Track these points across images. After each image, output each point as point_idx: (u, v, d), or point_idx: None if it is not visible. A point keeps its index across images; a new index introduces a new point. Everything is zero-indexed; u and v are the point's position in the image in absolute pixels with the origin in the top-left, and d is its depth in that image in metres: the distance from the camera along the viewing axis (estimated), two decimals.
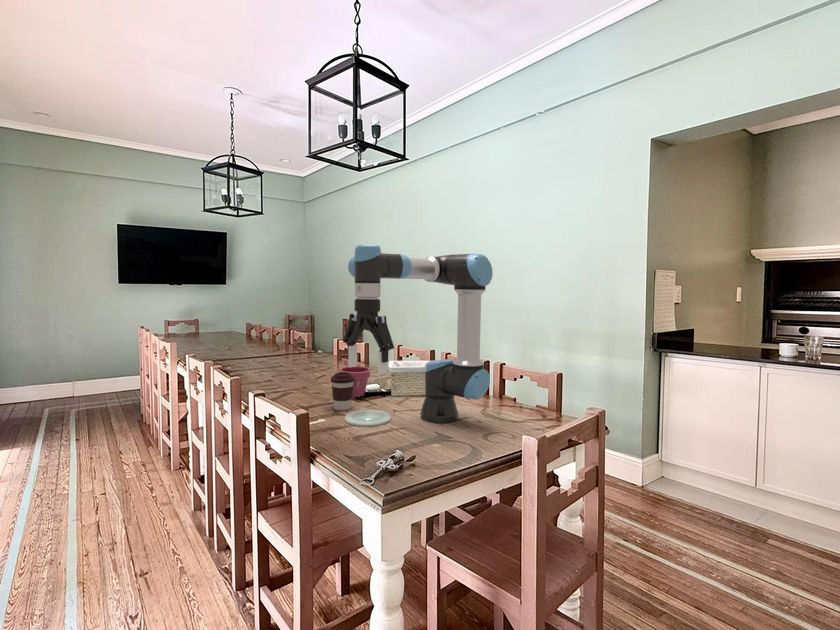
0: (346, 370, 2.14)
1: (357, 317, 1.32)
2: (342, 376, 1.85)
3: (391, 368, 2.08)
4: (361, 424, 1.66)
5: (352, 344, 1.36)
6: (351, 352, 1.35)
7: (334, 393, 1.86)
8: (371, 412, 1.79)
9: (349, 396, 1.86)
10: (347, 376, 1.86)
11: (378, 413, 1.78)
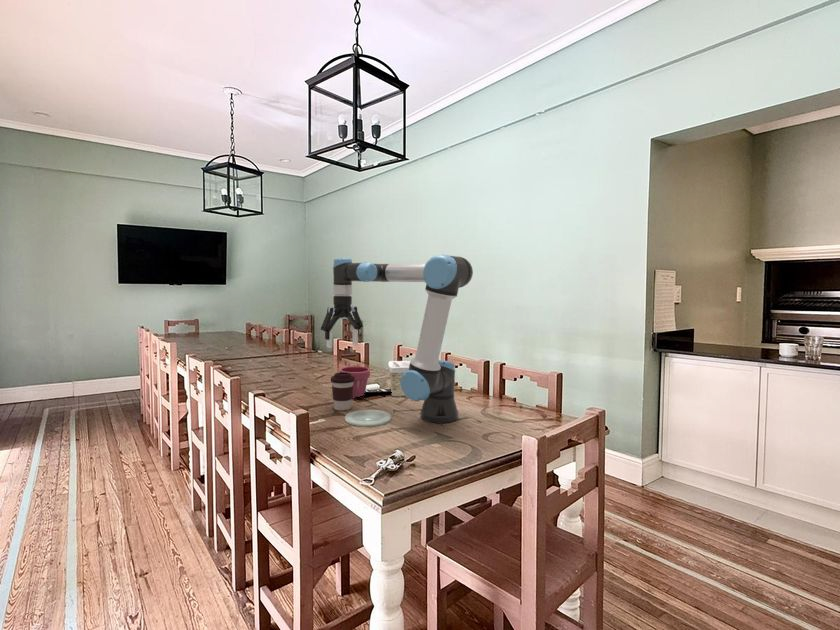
0: (346, 370, 2.14)
1: None
2: (342, 376, 1.85)
3: (392, 368, 2.08)
4: (361, 424, 1.66)
5: (356, 328, 1.91)
6: (353, 333, 1.92)
7: (334, 393, 1.86)
8: (371, 412, 1.79)
9: (349, 396, 1.86)
10: (347, 376, 1.86)
11: (378, 413, 1.78)
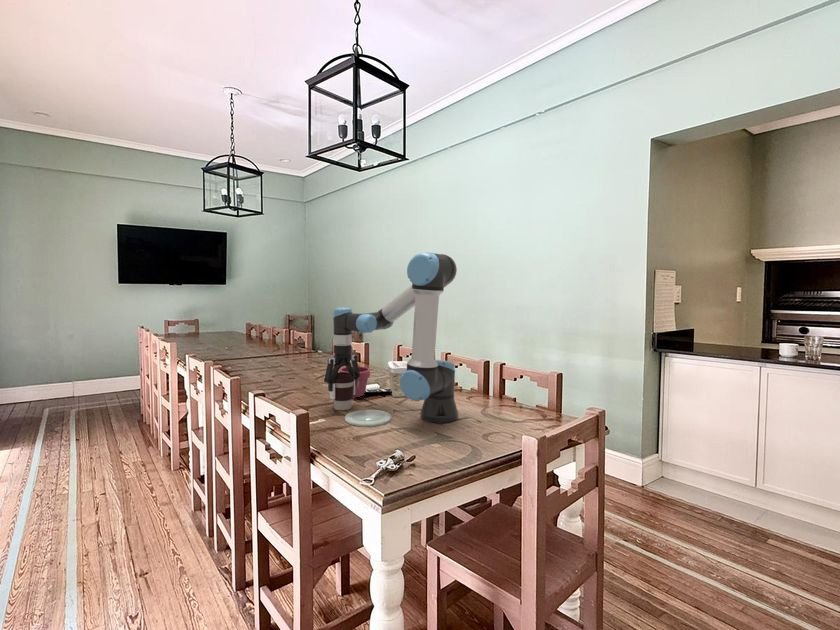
0: (346, 370, 2.14)
1: None
2: (342, 376, 1.85)
3: (393, 369, 2.07)
4: (361, 424, 1.66)
5: None
6: None
7: None
8: (371, 412, 1.79)
9: (349, 396, 1.86)
10: (347, 376, 1.86)
11: (378, 413, 1.78)
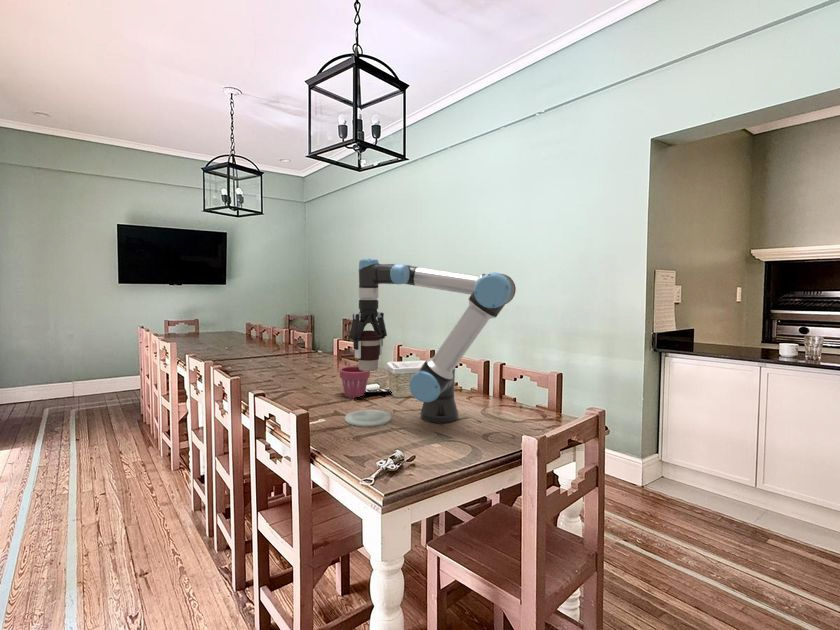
0: (346, 370, 2.14)
1: None
2: (368, 333, 1.69)
3: (395, 369, 2.05)
4: (361, 424, 1.66)
5: None
6: None
7: None
8: (371, 412, 1.79)
9: (376, 355, 1.70)
10: (374, 333, 1.70)
11: (378, 413, 1.78)
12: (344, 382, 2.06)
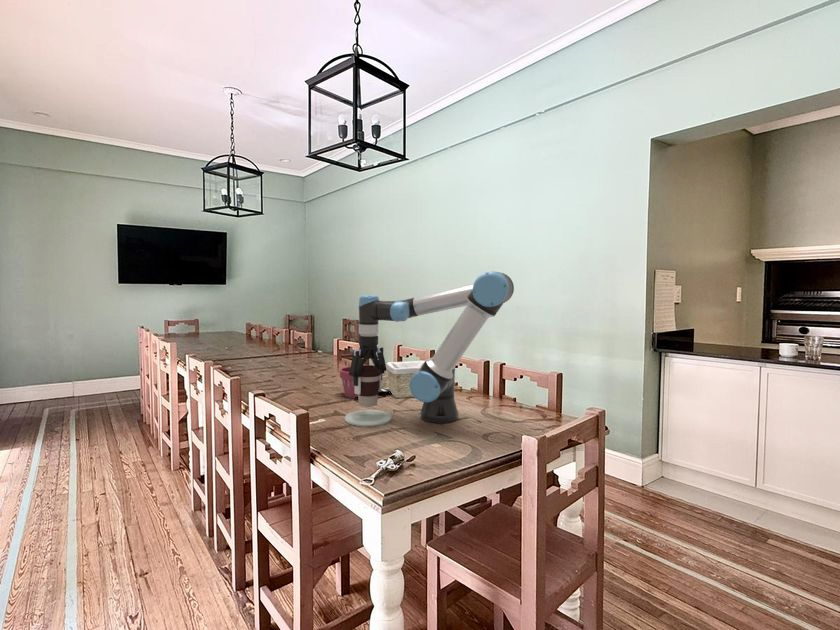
0: (346, 370, 2.14)
1: None
2: (368, 369, 1.70)
3: (396, 370, 2.05)
4: (361, 424, 1.66)
5: None
6: None
7: None
8: (371, 412, 1.79)
9: (375, 391, 1.71)
10: (373, 369, 1.71)
11: (378, 413, 1.78)
12: (344, 382, 2.06)
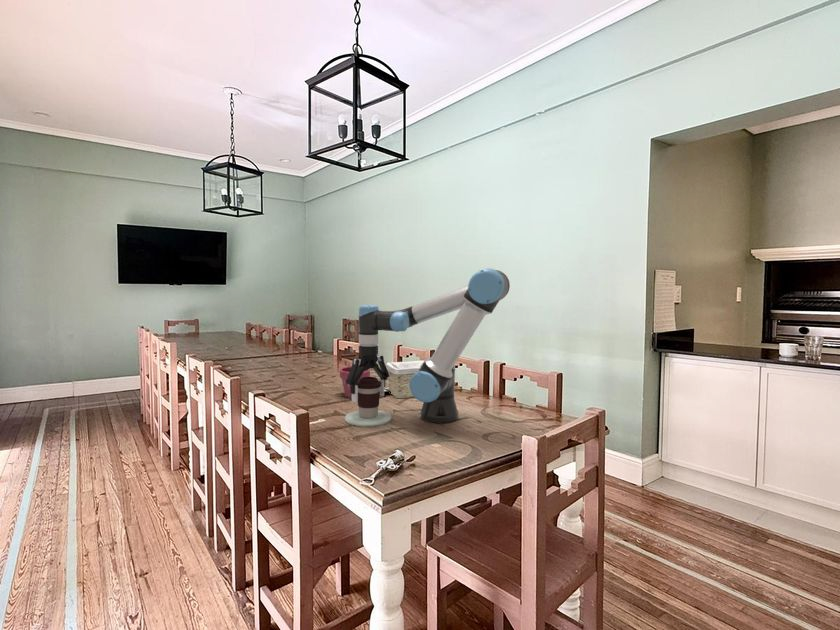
0: (346, 370, 2.14)
1: None
2: (368, 381, 1.70)
3: (398, 370, 2.04)
4: (361, 424, 1.66)
5: (382, 378, 1.79)
6: None
7: (360, 399, 1.71)
8: None
9: (376, 403, 1.72)
10: (374, 381, 1.71)
11: (378, 413, 1.78)
12: (344, 382, 2.06)
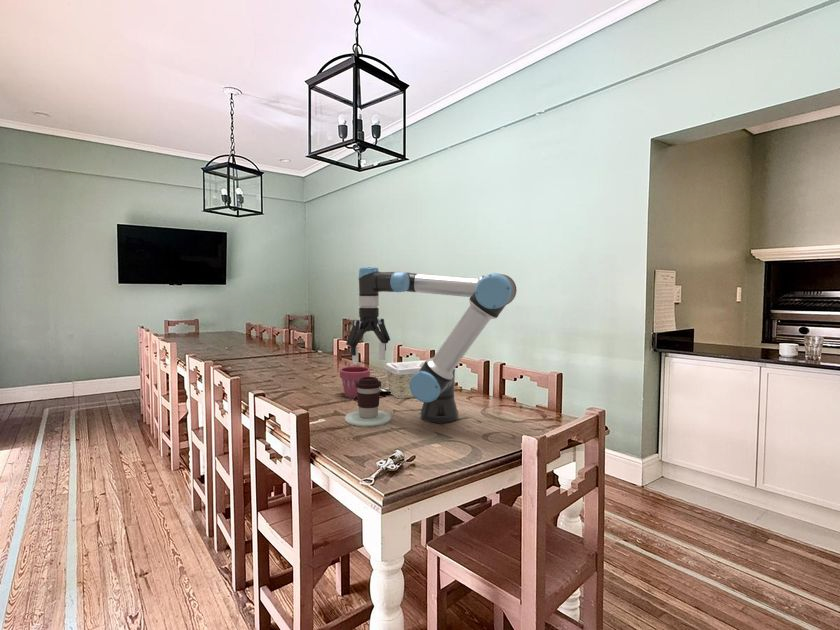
0: (346, 370, 2.14)
1: None
2: (368, 381, 1.70)
3: (399, 370, 2.03)
4: (361, 424, 1.66)
5: (382, 342, 1.78)
6: (380, 347, 1.78)
7: (360, 399, 1.71)
8: None
9: (376, 403, 1.72)
10: (374, 381, 1.71)
11: (378, 413, 1.78)
12: (344, 382, 2.06)
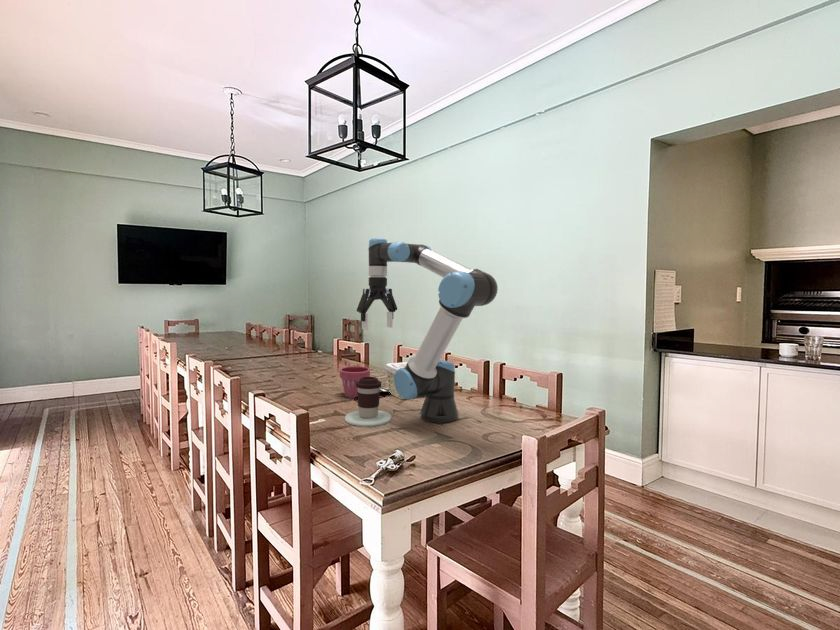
0: (346, 370, 2.14)
1: None
2: (369, 381, 1.70)
3: None
4: (361, 424, 1.66)
5: (390, 311, 1.88)
6: (387, 316, 1.88)
7: (360, 399, 1.71)
8: None
9: (376, 403, 1.72)
10: (374, 381, 1.71)
11: (378, 413, 1.78)
12: (344, 382, 2.06)
